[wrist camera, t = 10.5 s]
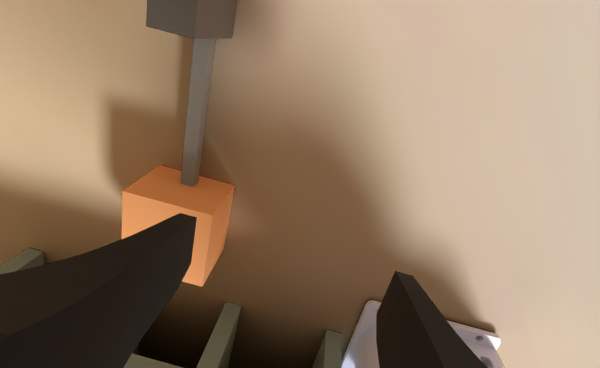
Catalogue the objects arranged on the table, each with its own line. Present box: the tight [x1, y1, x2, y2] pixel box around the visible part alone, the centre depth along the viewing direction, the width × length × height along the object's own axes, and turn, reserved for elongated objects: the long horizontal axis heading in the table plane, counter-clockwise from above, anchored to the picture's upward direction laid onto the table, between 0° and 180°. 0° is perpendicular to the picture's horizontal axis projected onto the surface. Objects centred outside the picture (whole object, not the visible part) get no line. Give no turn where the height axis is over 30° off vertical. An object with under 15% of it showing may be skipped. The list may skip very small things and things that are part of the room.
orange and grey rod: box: [122, 0, 237, 287], centre depth 18 cm, size 5×16×5 cm, turn 167°
